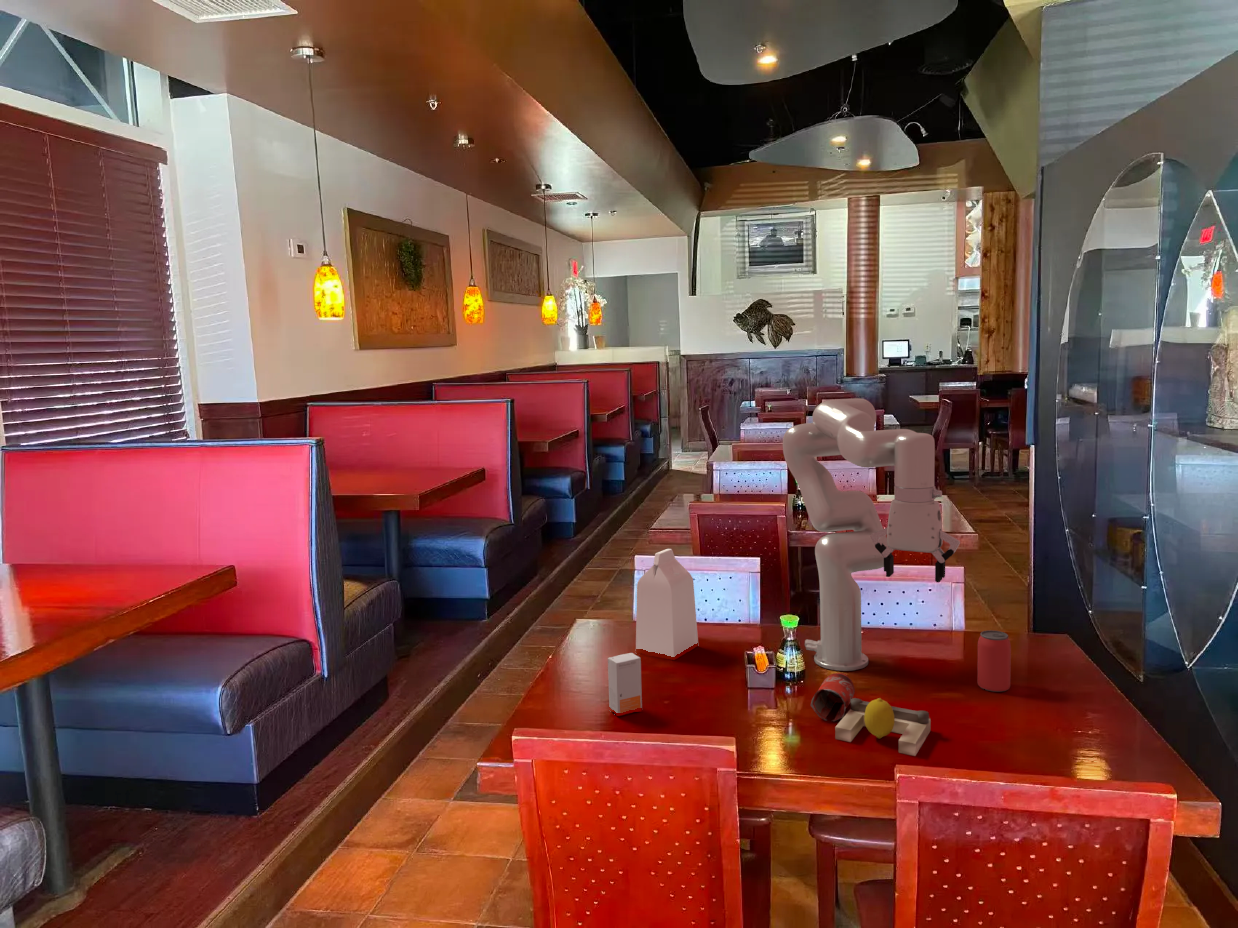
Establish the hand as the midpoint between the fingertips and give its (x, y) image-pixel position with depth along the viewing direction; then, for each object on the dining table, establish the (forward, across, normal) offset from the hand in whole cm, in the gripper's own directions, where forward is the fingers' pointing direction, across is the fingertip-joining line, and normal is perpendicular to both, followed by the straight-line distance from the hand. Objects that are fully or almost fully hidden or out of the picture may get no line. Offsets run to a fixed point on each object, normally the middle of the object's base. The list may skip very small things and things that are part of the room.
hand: (913, 578), depth 169 cm
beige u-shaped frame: (+28, +2, +14) cm, 31 cm away
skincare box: (+28, +53, +28) cm, 66 cm away
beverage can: (+29, +14, +7) cm, 33 cm away
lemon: (+28, +2, +16) cm, 33 cm away
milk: (+29, +64, -9) cm, 71 cm away
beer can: (+28, -12, -20) cm, 37 cm away
